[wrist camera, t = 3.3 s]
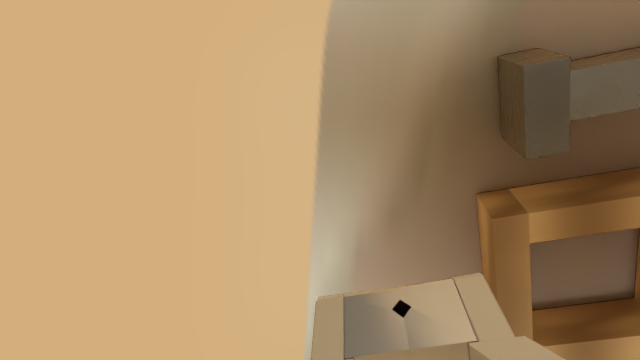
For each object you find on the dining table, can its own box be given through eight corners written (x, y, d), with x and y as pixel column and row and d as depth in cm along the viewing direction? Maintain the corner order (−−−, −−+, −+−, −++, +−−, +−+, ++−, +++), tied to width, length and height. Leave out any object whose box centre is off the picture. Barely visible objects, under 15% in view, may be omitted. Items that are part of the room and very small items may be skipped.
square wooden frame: (680, 160, 19) (725, 183, 17) (662, 316, 23) (698, 353, 20) (475, 194, 20) (491, 219, 18) (488, 337, 24) (503, 373, 22)
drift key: (726, 9, 17) (795, 11, 14) (714, 99, 18) (775, 116, 15) (497, 56, 18) (523, 66, 15) (502, 137, 19) (526, 159, 17)
